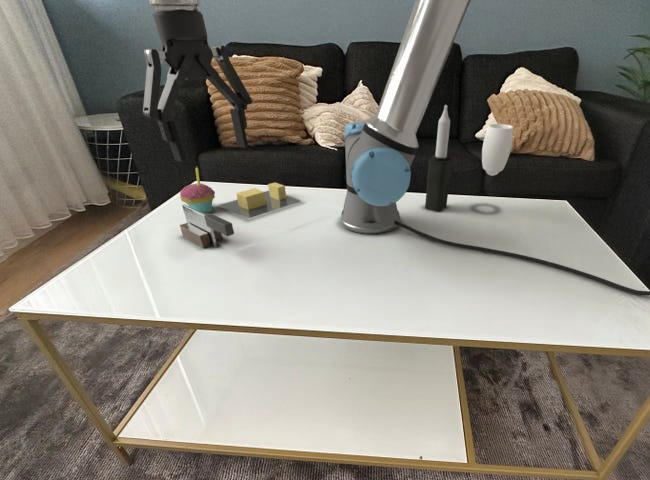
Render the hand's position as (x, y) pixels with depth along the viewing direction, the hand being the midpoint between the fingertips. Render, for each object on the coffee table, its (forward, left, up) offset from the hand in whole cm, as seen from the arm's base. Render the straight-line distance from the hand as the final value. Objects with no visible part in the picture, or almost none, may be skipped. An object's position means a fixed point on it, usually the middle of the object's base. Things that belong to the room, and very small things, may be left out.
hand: (213, 153), depth 79 cm
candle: (-17, -54, -21) cm, 61 cm away
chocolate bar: (+11, +2, -20) cm, 23 cm away
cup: (-28, -63, -21) cm, 72 cm away
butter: (+20, -19, -20) cm, 34 cm away
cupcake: (+27, -7, -21) cm, 35 cm away
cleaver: (+6, +2, -20) cm, 21 cm away
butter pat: (+20, -28, -20) cm, 39 cm away
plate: (+20, -21, -20) cm, 36 cm away
